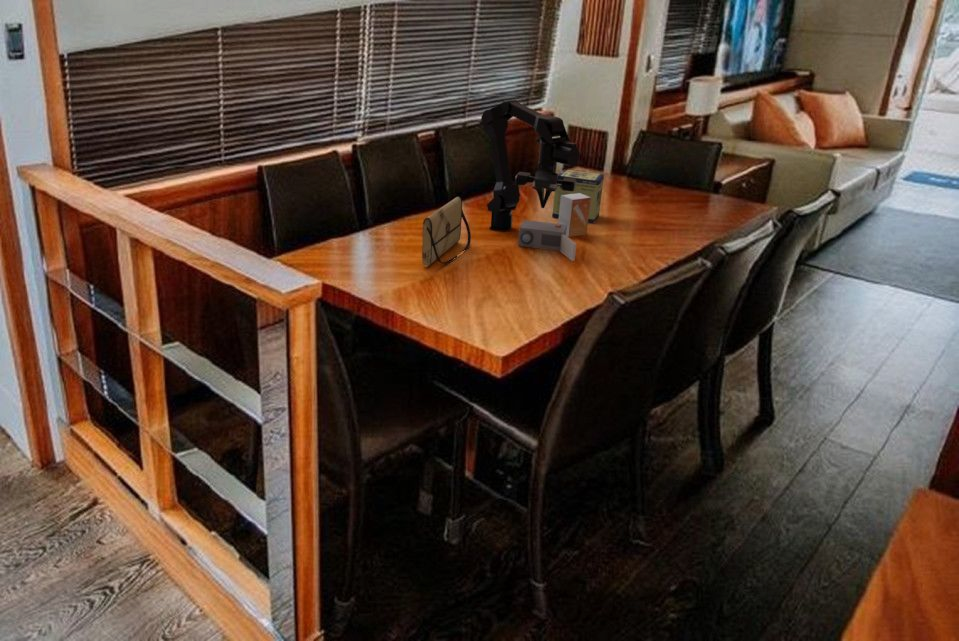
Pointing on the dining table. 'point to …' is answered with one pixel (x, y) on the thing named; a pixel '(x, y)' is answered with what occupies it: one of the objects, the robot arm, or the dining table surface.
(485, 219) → the dining table surface
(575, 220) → the small box
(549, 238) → the camera block
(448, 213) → the clutch purse
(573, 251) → the side door
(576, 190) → the protein box
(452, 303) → the dining table surface
